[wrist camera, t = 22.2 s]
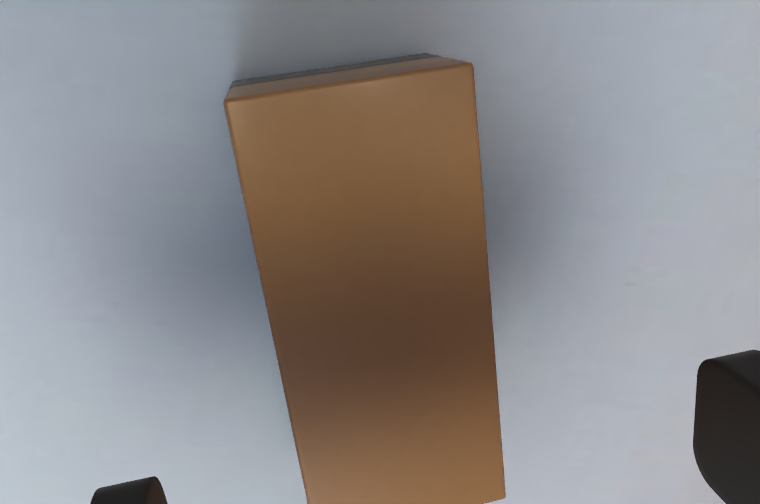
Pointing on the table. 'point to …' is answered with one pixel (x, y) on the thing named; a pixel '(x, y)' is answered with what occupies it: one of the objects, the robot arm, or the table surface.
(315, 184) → the eraser
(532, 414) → the table surface
